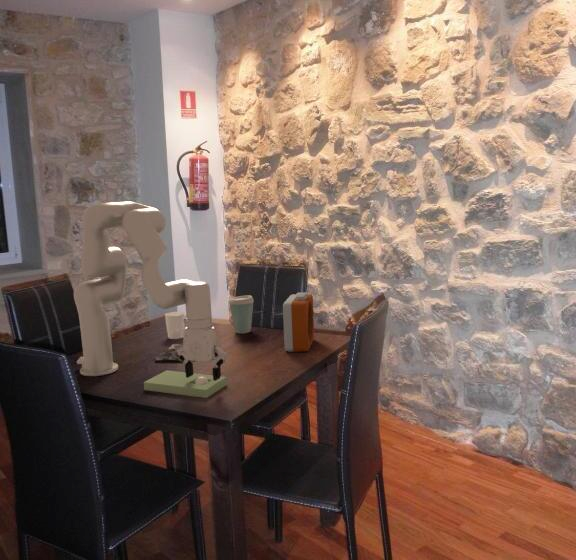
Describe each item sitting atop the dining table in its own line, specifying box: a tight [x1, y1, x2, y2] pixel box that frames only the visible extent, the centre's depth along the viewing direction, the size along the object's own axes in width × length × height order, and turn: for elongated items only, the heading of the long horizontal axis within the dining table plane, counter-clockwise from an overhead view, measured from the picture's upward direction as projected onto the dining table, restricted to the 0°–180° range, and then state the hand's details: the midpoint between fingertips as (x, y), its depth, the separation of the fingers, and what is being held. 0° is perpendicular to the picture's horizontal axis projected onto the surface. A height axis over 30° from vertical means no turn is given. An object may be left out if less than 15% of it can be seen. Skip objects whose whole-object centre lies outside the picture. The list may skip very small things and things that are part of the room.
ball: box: [195, 377, 208, 385], centre depth 179 cm, size 4×4×4 cm
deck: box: [143, 369, 228, 399], centre depth 182 cm, size 22×12×2 cm, turn 66°
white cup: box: [164, 311, 186, 340], centre depth 243 cm, size 8×8×10 cm
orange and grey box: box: [282, 292, 315, 353], centre depth 221 cm, size 18×9×21 cm, turn 170°
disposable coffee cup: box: [228, 295, 255, 334], centre depth 247 cm, size 11×11×15 cm
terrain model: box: [154, 343, 197, 364], centre depth 218 cm, size 20×15×3 cm
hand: (203, 377), depth 179 cm, fingers open, 9 cm apart
